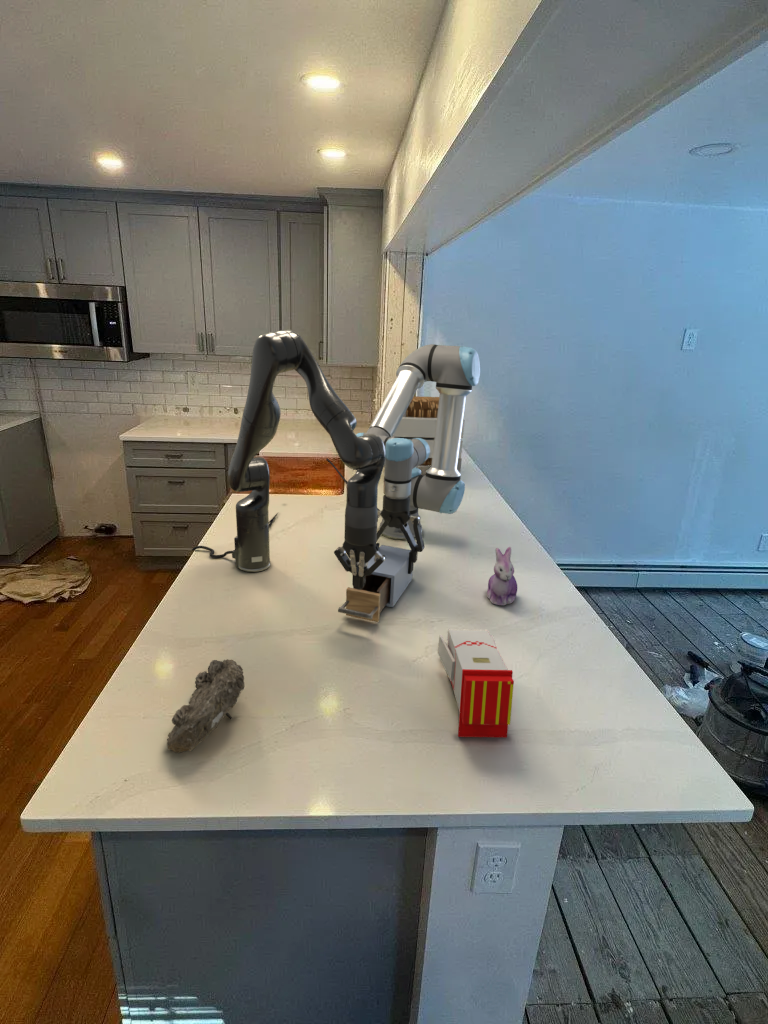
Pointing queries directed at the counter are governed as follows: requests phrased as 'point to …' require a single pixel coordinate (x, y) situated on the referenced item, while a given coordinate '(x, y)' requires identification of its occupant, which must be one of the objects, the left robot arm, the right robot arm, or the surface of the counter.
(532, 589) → the counter surface
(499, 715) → the toy
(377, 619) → the drawer
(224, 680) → the fossil
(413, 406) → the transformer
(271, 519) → the feather
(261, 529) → the left robot arm
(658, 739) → the counter surface
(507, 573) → the figurine
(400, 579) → the cabinet
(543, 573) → the counter surface
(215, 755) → the counter surface
